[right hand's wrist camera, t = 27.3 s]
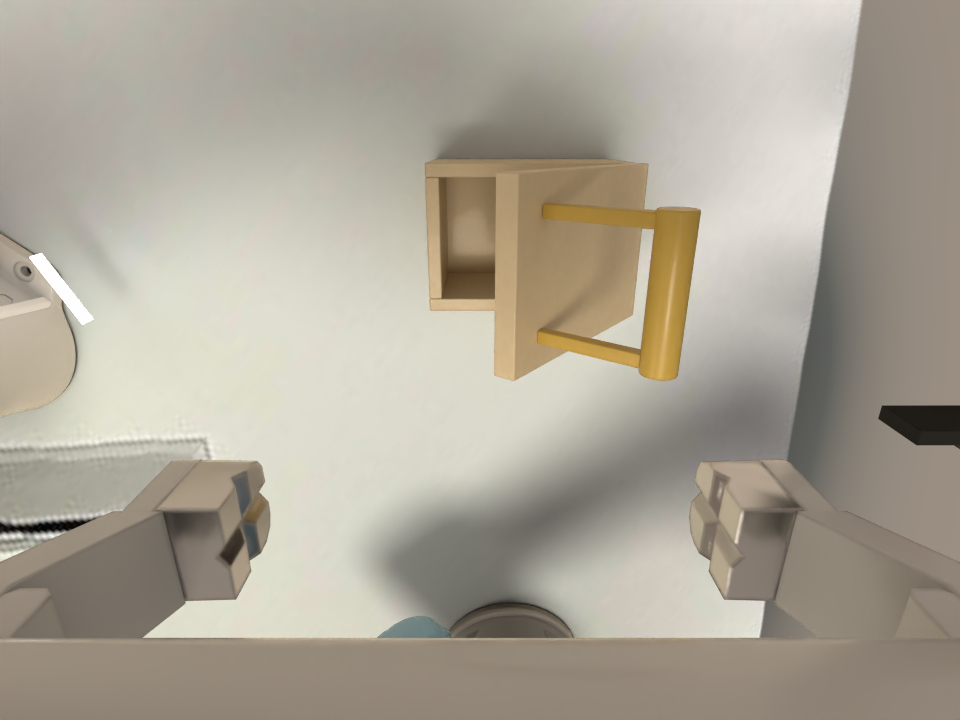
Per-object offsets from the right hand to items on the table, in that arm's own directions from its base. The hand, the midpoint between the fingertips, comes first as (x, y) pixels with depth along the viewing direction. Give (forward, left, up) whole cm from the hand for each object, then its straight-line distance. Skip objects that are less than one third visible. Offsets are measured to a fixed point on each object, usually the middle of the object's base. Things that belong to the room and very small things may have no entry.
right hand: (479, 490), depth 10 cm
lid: (+3, +4, -23) cm, 23 cm away
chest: (+2, +2, -38) cm, 38 cm away
